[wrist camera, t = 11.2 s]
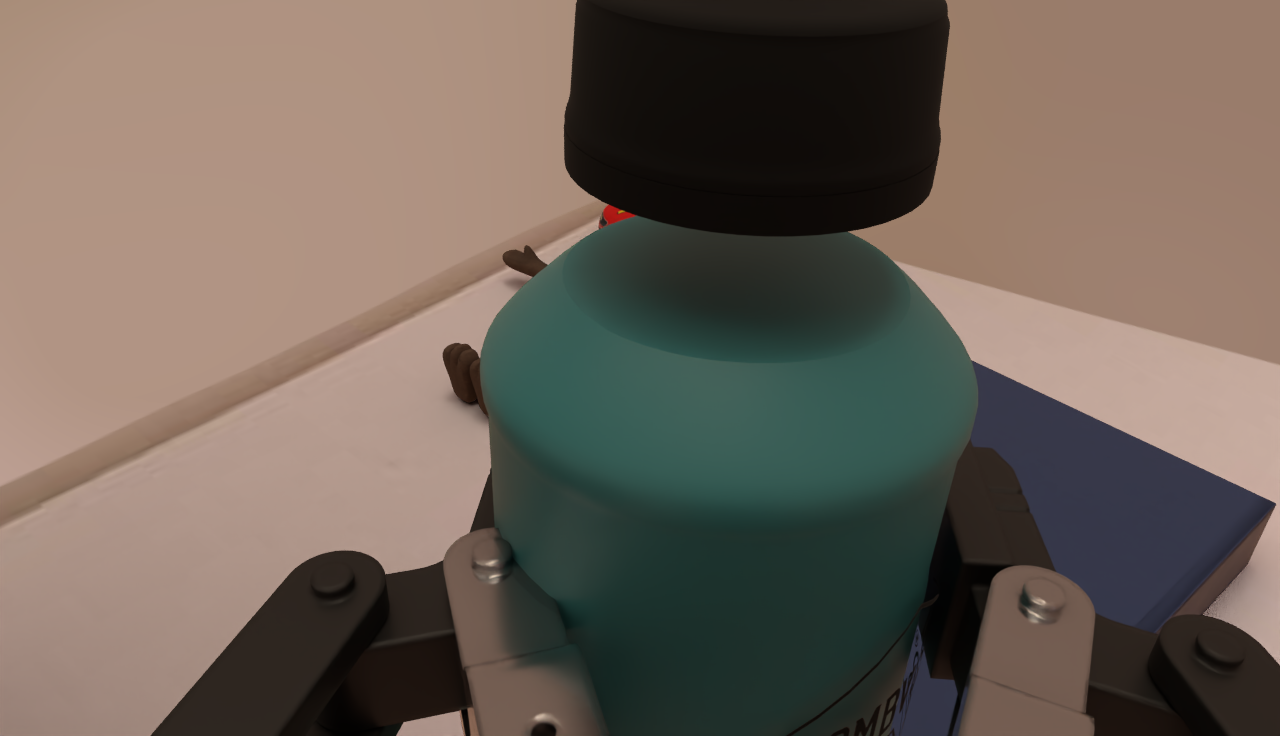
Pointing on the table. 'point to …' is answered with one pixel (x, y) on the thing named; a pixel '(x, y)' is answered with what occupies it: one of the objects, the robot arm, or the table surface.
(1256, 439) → the table surface
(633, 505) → the beverage bottle
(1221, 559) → the book
